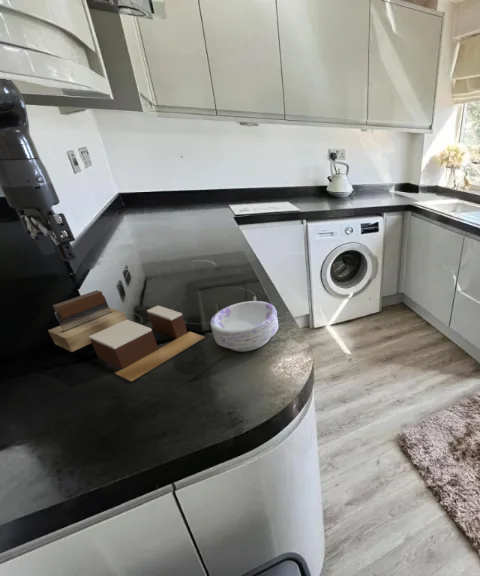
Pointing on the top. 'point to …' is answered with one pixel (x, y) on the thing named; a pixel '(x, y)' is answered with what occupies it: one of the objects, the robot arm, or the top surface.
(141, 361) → the cutting board
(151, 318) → the cake slice
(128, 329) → the loaf cake
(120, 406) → the top surface
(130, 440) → the top surface
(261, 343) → the paper bowls
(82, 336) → the knife block
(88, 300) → the cake cutter
